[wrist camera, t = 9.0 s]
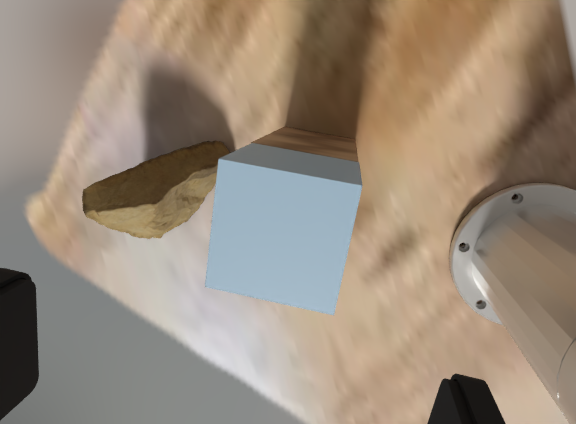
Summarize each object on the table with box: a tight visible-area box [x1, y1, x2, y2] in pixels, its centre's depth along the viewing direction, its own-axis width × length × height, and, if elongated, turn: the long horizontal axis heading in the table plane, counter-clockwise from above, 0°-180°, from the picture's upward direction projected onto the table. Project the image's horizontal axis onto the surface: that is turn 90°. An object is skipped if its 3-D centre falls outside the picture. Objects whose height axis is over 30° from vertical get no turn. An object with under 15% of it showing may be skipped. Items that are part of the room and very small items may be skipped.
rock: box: [82, 141, 230, 239], centre depth 34 cm, size 11×9×10 cm
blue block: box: [205, 143, 362, 315], centre depth 20 cm, size 6×6×6 cm
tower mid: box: [251, 133, 358, 162], centre depth 26 cm, size 6×6×6 cm
